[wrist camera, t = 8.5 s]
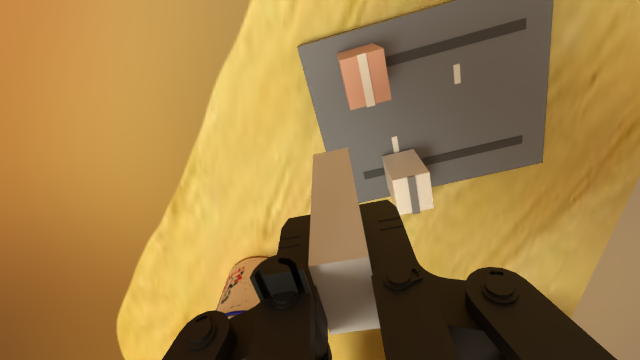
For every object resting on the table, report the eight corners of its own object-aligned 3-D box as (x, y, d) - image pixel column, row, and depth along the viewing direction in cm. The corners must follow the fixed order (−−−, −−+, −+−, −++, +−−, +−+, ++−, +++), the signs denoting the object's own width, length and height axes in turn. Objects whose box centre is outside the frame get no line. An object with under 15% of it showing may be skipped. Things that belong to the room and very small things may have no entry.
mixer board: (530, 154, 32) (543, 162, 30) (340, 197, 34) (341, 207, 33) (538, -25, 25) (556, -29, 23) (298, 45, 27) (297, 47, 25)
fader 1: (380, 86, 27) (392, 100, 22) (345, 95, 27) (350, 111, 22) (372, 42, 25) (383, 47, 20) (336, 52, 25) (339, 60, 21)
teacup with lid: (233, 246, 38) (200, 332, 27) (305, 263, 39) (299, 352, 29) (218, 311, 43) (185, 404, 33) (282, 325, 44) (270, 418, 34)
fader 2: (417, 181, 31) (434, 209, 26) (387, 187, 31) (399, 217, 27) (413, 148, 29) (430, 172, 25) (381, 155, 30) (392, 181, 25)
